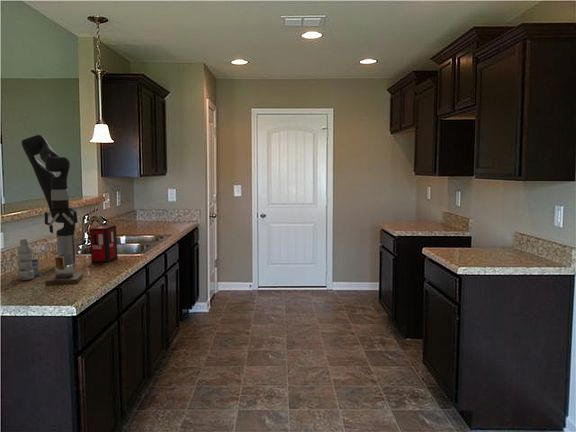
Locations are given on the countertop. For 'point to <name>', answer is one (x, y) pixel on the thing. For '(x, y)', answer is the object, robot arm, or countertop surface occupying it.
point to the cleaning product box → (103, 244)
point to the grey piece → (63, 266)
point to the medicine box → (35, 267)
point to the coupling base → (64, 279)
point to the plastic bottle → (25, 260)
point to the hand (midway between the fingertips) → (62, 232)
